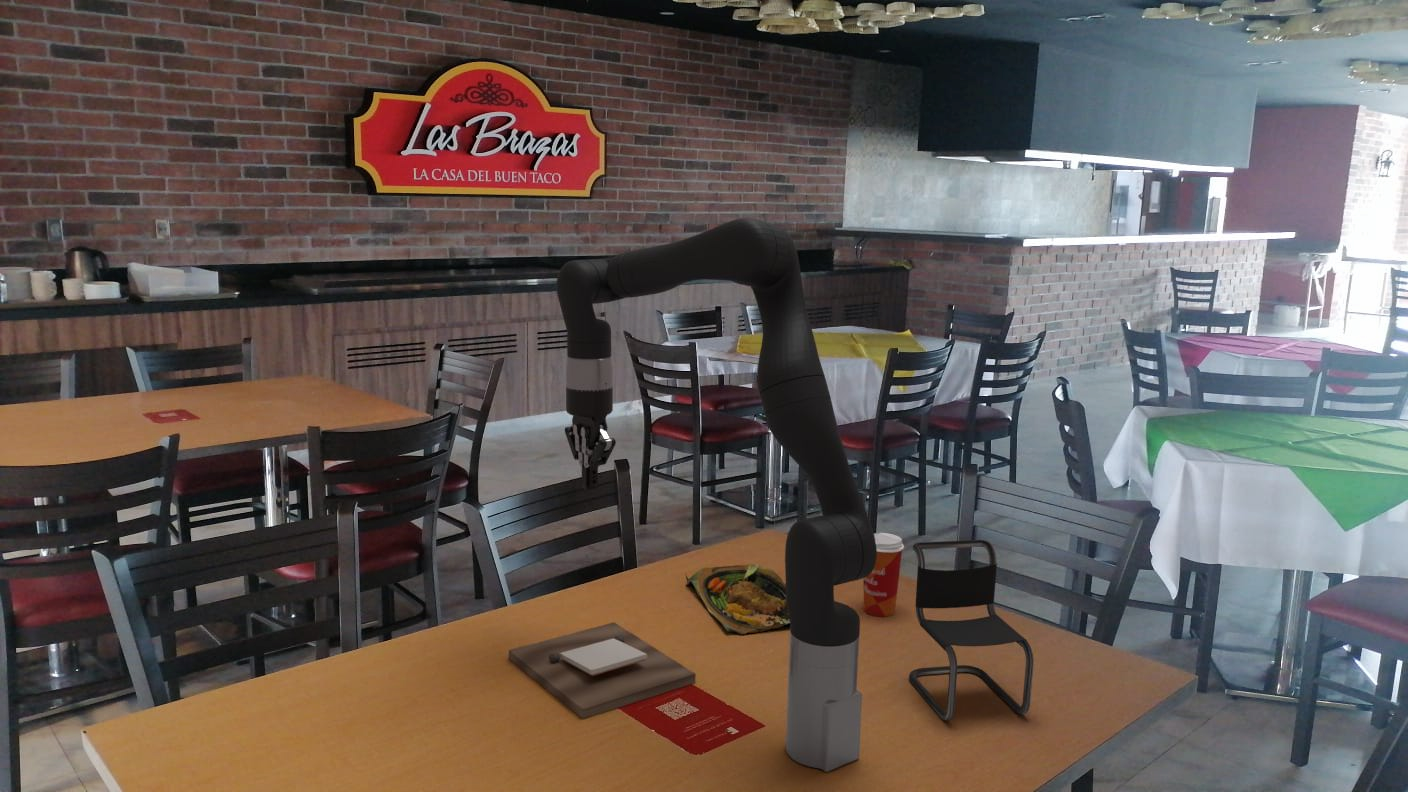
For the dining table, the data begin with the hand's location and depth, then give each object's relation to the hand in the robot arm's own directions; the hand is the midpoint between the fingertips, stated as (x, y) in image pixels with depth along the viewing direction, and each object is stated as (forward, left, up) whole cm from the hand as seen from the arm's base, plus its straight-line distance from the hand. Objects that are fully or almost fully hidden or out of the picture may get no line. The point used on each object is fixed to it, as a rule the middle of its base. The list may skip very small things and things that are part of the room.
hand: (589, 488), depth 166 cm
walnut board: (-10, +4, -27) cm, 29 cm away
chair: (-49, -37, -27) cm, 67 cm away
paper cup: (-18, -51, -27) cm, 61 cm away
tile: (-11, +4, -24) cm, 26 cm away
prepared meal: (-1, -34, -28) cm, 44 cm away
